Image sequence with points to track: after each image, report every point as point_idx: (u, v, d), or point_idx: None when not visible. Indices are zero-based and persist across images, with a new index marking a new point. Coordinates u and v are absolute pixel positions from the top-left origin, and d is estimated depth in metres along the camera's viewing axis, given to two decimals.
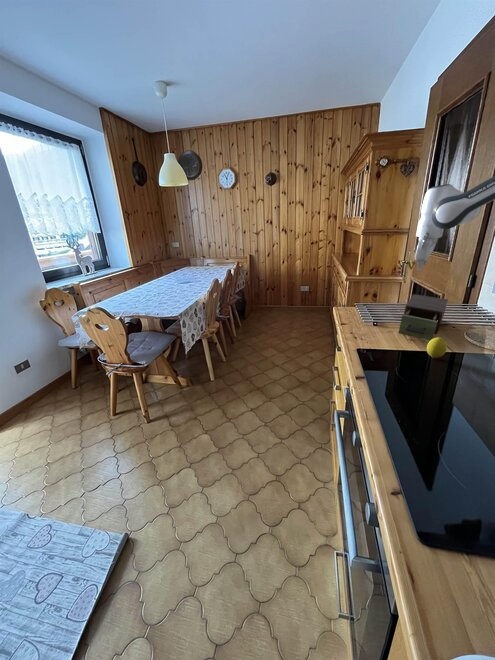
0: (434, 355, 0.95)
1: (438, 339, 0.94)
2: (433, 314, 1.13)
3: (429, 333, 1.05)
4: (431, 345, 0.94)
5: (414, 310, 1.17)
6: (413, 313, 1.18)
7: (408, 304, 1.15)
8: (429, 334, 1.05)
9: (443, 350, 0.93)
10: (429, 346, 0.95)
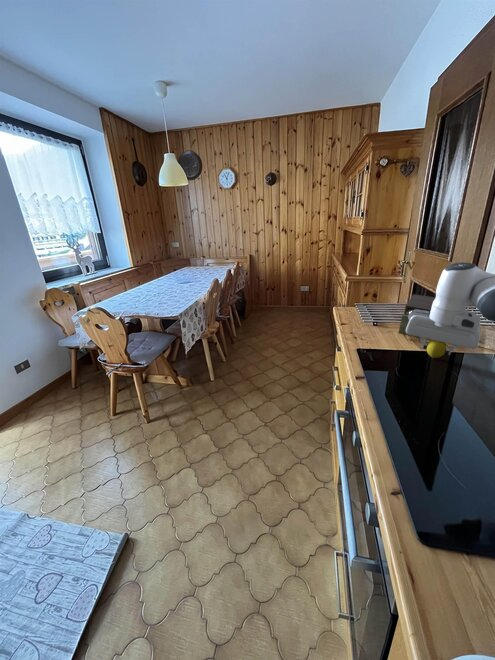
0: (434, 355, 0.95)
1: None
2: None
3: None
4: (431, 345, 0.94)
5: None
6: None
7: (408, 304, 1.15)
8: None
9: (443, 350, 0.93)
10: (429, 346, 0.95)
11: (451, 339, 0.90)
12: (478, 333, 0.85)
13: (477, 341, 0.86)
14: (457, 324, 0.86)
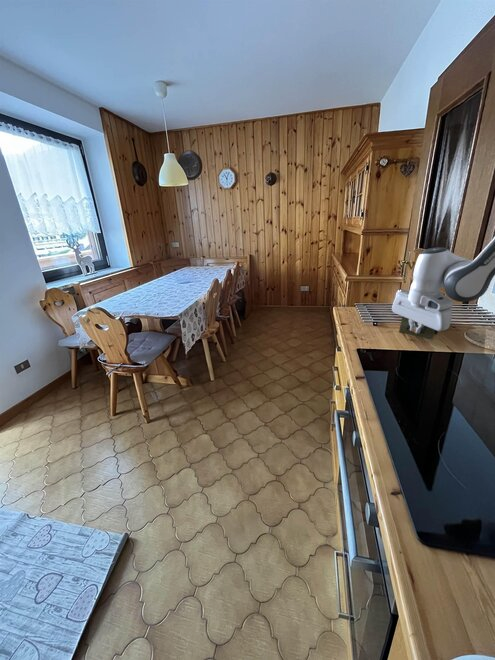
0: None
1: None
2: None
3: (429, 332, 1.06)
4: None
5: None
6: None
7: None
8: (429, 333, 1.06)
9: None
10: None
11: (423, 320, 0.97)
12: (442, 315, 0.90)
13: (441, 323, 0.91)
14: (424, 304, 0.93)
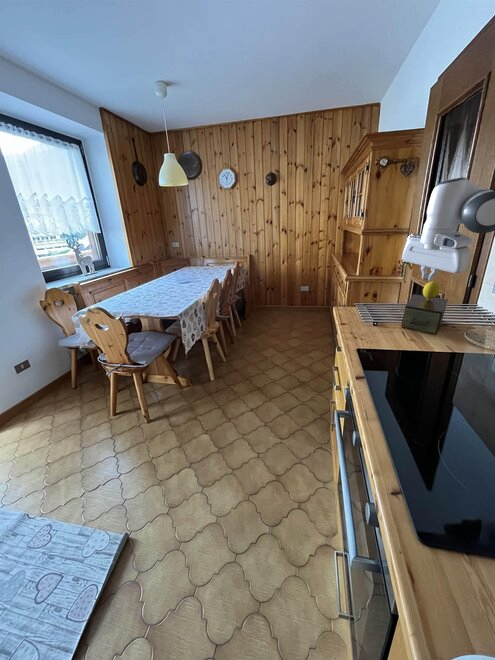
0: (429, 296, 1.15)
1: (432, 282, 1.14)
2: None
3: (432, 326, 1.10)
4: (426, 287, 1.15)
5: None
6: None
7: (408, 304, 1.15)
8: (432, 327, 1.10)
9: (436, 291, 1.13)
10: (425, 289, 1.15)
11: (437, 263, 0.88)
12: (459, 254, 0.81)
13: (458, 263, 0.82)
14: (439, 244, 0.85)
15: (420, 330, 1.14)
